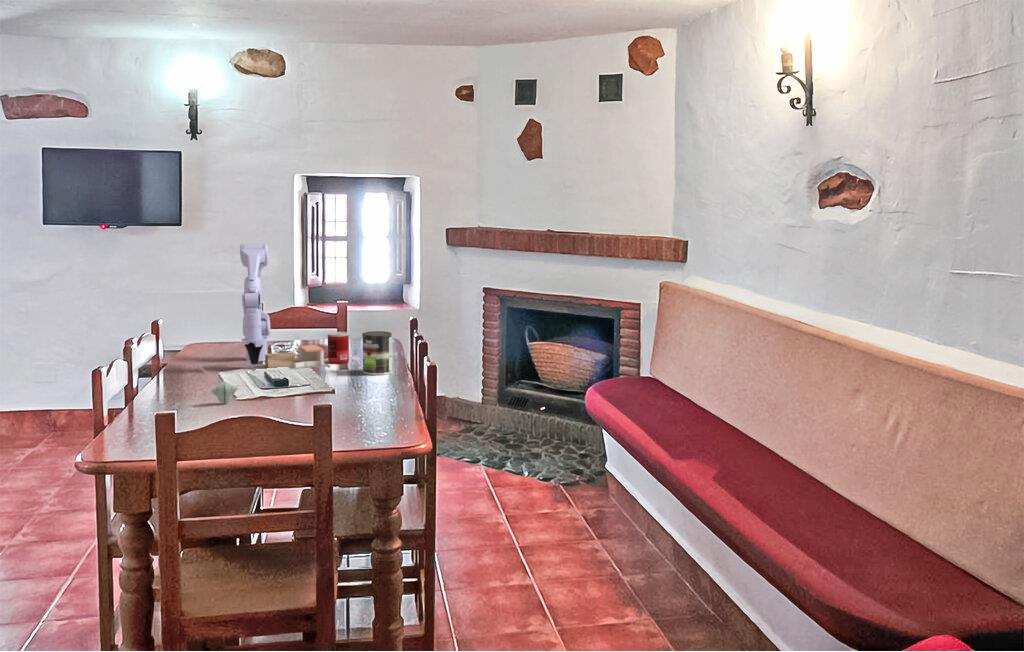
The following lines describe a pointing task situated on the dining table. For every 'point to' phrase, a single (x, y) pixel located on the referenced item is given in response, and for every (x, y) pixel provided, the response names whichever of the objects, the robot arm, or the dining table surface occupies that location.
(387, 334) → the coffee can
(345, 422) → the dining table surface
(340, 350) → the canned food
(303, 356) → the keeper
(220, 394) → the pale green angular piece
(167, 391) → the dining table surface
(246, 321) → the robot arm
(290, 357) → the tan cardboard block
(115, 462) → the dining table surface
